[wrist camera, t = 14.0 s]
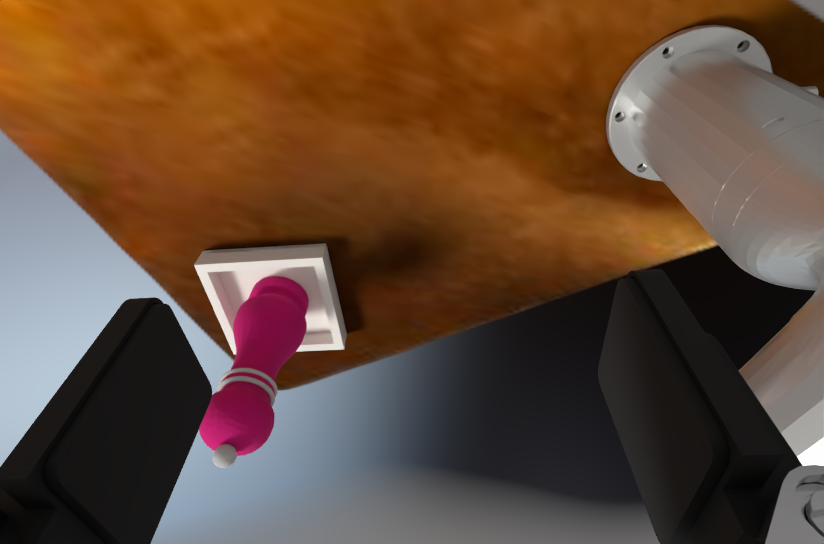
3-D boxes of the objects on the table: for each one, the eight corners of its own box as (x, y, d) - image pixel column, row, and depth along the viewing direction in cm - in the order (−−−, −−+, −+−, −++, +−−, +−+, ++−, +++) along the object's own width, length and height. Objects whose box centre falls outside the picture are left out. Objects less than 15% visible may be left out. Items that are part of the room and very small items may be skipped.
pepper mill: (243, 269, 51) (162, 436, 35) (312, 274, 51) (263, 442, 35) (251, 319, 55) (182, 487, 39) (314, 323, 55) (272, 492, 39)
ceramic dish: (326, 243, 49) (322, 257, 47) (346, 333, 57) (344, 349, 55) (203, 250, 50) (194, 264, 48) (240, 338, 58) (233, 354, 56)
